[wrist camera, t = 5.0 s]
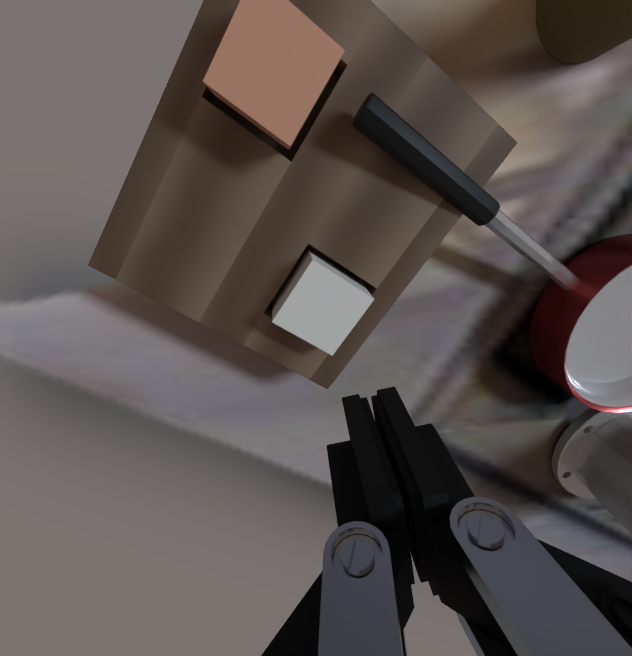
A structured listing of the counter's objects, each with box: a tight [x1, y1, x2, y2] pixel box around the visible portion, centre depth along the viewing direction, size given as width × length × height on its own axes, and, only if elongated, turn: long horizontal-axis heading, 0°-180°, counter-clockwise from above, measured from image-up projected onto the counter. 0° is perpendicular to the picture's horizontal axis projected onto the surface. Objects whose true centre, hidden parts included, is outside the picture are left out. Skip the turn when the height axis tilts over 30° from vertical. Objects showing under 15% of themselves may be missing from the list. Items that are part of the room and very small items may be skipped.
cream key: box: [272, 249, 374, 356], centre depth 21 cm, size 4×4×3 cm
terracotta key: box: [203, 0, 345, 150], centre depth 16 cm, size 4×4×3 cm
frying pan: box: [353, 93, 632, 413], centre depth 23 cm, size 32×13×6 cm, turn 64°
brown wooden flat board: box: [88, 0, 517, 389], centre depth 21 cm, size 16×18×4 cm
